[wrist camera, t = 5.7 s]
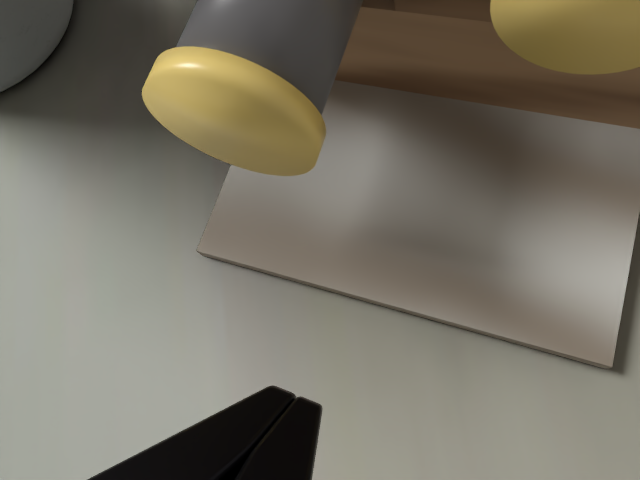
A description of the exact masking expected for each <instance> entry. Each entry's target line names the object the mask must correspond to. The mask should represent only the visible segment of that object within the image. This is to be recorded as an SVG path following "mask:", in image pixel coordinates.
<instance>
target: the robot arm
mask: <svg viewBox="0 0 640 480" xmlns="http://www.w3.org/2000/svg"><path fill="white" fill-rule="evenodd" d="M321 416H322V406H321V405H320V404H318V403H316V402H313V401H311V400H309V399H306V398H304V397H297V398H296V396H295V394H293V393H291V392H289V391H286V390H284V389H282V388H279V387H277V386H269V387H266V388H264V389H262V390H261V391H259V392H257V393H255V394H253V395H251V396H249V397H247V398H245V399H243V400H241V401H239V402H237V403H235V404H233V405H231V406H229V407H228V408H226V409H224V410H222V411H220V412H218V413H216V414H214V415H212V416H210V417H208V418H206V419H204V420H202V421H200V422H198V423H196V424H194V425H193V426H191V427H189V428H187V429H185V430H183V431H181V432H179V433H177V434H175V435H173V436H171V437H169V438H167V439H165V440H163V441H161V442H159V443H158V444H156V445H154V446H152V447H150V448H148V449H146V450H144V451H142V452H140V453H138V454H136V455H134V456H132V457H130V458H128V459H126V460H124V461H123V462H121V463H119V464H117V465H115V466H113V467H111V468H109V469H107V470H105V471H103V472H101V473H99V474H97V475H95V476H93V477H91V478H90V479H88V480H312V475H313V468H314V462H315V455H316V449H317V442H318V435H319V429H320V422H321Z"/></svg>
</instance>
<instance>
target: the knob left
mask: <svg viewBox="0 0 640 480" xmlns="http://www.w3.org/2000/svg"><path fill="white" fill-rule="evenodd" d="M362 3H363V0H197V2H196V4H195V7H194V9H193V11H192V13H191V15H190V17H189V20H188V22H187V24H186V26H185V28H184V30H183V33H182V35H181V37H180V39H179V41H178V43H177V46H176V47H175V48H172V49H168V50H166V51H164V52H162V53H161V54H160V55H159V56H158V57H157V59H156V61H155V63H154V65H153V67H152V69H151V71H150V73H149V76H148V78H147V80H146V82H145V84H144V86H143V88H142V97H143V101H144V103H145V105H146V107H147V108H148V110H149V111H150V113H151V114H152V115H153V116H154V117H155V118H156V119H157V120H158V121H159V122H160V123H161V124H162V125H163V126H164V127H165V128H166V129H168V130H169V131H170V132H171V133H173V134H174V135H175V136H177V137H178V138H180V139H181V140H183V141H184V142H186V143H188V144H189V145H191V146H193V147H194V148H196V149H198V150H200V151H202V152H204V153H206V154H208V155H210V156H212V157H214V158H216V159H219V160H221V161H223V162H226V163H228V164H231V165H234V166H237V167H240V168H243V169H246V170H250V171H254V172H258V173H263V174H268V175H276V176H296V175H301V174H305V173H307V172H309V171H310V170H312V169H313V168H314V166H315V165H316V162H317V159H318V157H319V154H320V151H321V148H322V145H323V143H324V140H325V136H326V126H325V122H324V120H323V118H322V113H323V110H324V107H325V105H326V102H327V99H328V96H329V93H330V91H331V88H332V85H333V82H334V80H335V77H336V74H337V71H338V69H339V66H340V63H341V60H342V58H343V55H344V52H345V49H346V47H347V44H348V41H349V38H350V36H351V33H352V30H353V27H354V25H355V22H356V19H357V16H358V14H359V11H360V8H361V5H362Z"/></svg>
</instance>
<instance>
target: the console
mask: <svg viewBox="0 0 640 480" xmlns="http://www.w3.org/2000/svg"><path fill="white" fill-rule="evenodd" d="M490 2H491V0H363V3H362V5H361V8H360V11H359V14H358V16H357V19H356V22H355V25H354V27H353V30H352V33H351V36H350V38H349V41H348V44H347V47H346V49H345V52H344V55H343V58H342V60H341V63H340V66H339V69H338V71H337V74H336V77H335V80H334V82H333V85H332V88H331V91H330V93H329V96H328V99H327V102H326V105H325V107H324V110H323V113H322V118H323V120H324V122H325V126H326V136H325V140H324V143H323V145H322V148H321V151H320V154H319V157H318V159H317V162H316V165H315V166H314V168H313V169H312V170H310V171H309V172H307V173H305V174H301V175H296V176H276V175H268V174H263V173H258V172H254V171H250V170H246V169H243V168H240V167H237V166H234V165H231V166H230V168H229V171H228V173H227V176H226V178H225V180H224V183H223V185H222V188H221V190H220V193H219V195H218V198H217V200H216V203H215V205H214V208H213V210H212V213H211V215H210V218H209V220H208V223H207V225H206V228H205V230H204V233H203V235H202V238H201V240H200V243H199V245H198V248H197V250H196V251H197V252H198V253H200V254H201V255H203V256H206V257H210V258H213V259H217V260H220V261H224V262H228V263H231V264H235V265H238V266H242V267H245V268H249V269H252V270H256V271H260V272H263V273H267V274H270V275H274V276H277V277H281V278H284V279H288V280H292V281H295V282H299V283H302V284H306V285H309V286H313V287H316V288H320V289H324V290H327V291H331V292H334V293H338V294H341V295H345V296H348V297H352V298H356V299H359V300H363V301H366V302H370V303H373V304H377V305H380V306H384V307H388V308H391V309H395V310H398V311H402V312H405V313H409V314H412V315H416V316H420V317H423V318H427V319H430V320H434V321H437V322H441V323H444V324H448V325H452V326H455V327H459V328H462V329H466V330H469V331H473V332H477V333H480V334H484V335H487V336H491V337H494V338H498V339H501V340H505V341H509V342H512V343H516V344H519V345H523V346H526V347H530V348H533V349H537V350H541V351H544V352H548V353H551V354H555V355H558V356H562V357H565V358H569V359H573V360H576V361H580V362H583V363H587V364H590V365H594V366H597V367H601V368H605V369H608V368H611V367H612V365H613V359H614V353H615V348H616V342H617V336H618V331H619V325H620V319H621V314H622V308H623V303H624V297H625V291H626V286H627V280H628V274H629V269H630V263H631V257H632V252H633V246H634V240H635V235H636V229H637V223H638V218H639V212H640V67H638V68H634V69H631V70H626V71H621V72H616V73H608V74H594V75H589V74H572V73H565V72H559V71H555V70H551V69H547V68H544V67H541V66H539V65H536V64H534V63H532V62H529V61H527V60H525V59H524V58H522V57H521V56H519V55H517V54H516V53H515V52H513V51H512V50H511V49H510V48H509V47H508V46H507V45H506V44H505V43H504V42H503V41H502V40H501V38H500V37H499V36H498V34H497V32H496V30H495V28H494V26H493V23H492V20H491V14H490Z"/></svg>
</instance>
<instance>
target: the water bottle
mask: <svg viewBox="0 0 640 480" xmlns="http://www.w3.org/2000/svg"><path fill="white" fill-rule="evenodd" d="M72 8H73V0H0V92H1V91H4V90H6V89H8V88H10V87H11V86H13V85H15V84H17V83H19V82H20V81H22V80H23V79H24V78H26V77H27V76H28V75H30V74H31V73H32V72H34V71H35V70H36V69H37V68H38V67H39V66H40V65H41V64H42V63H43V62H44V61H45V60H46V59H47V58H48V57H49V56H50V54H51V53H52V52H53V50H54V49H55V48H56V46H57V45H58V44H59V42H60V40H61V38H62V36H63V35H64V33H65V31H66V29H67V26H68V24H69V21H70V18H71V15H72Z"/></svg>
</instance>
